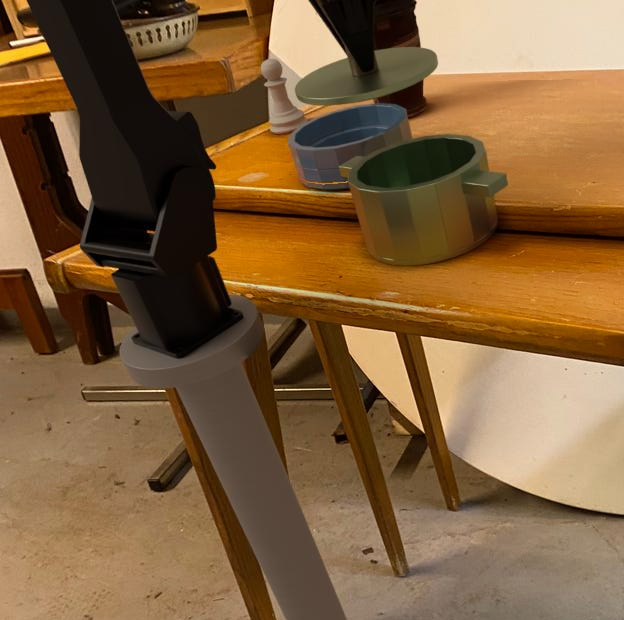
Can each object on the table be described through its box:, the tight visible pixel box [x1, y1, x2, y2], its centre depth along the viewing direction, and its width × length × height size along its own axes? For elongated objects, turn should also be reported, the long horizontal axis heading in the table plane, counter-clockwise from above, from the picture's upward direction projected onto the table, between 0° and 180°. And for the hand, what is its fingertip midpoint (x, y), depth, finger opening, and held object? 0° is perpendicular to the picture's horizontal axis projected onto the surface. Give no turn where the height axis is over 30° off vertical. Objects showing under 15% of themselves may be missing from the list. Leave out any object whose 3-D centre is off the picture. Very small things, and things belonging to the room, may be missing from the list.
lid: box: [294, 45, 439, 107], centre depth 79 cm, size 13×13×5 cm
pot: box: [339, 133, 509, 267], centre depth 78 cm, size 12×17×6 cm
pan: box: [287, 102, 414, 191], centre depth 94 cm, size 12×12×4 cm
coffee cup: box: [372, 0, 428, 118], centre depth 104 cm, size 9×8×13 cm
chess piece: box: [260, 58, 309, 135], centre depth 109 cm, size 5×5×8 cm
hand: (363, 67), depth 80 cm, fingers closed on lid, 2 cm apart
